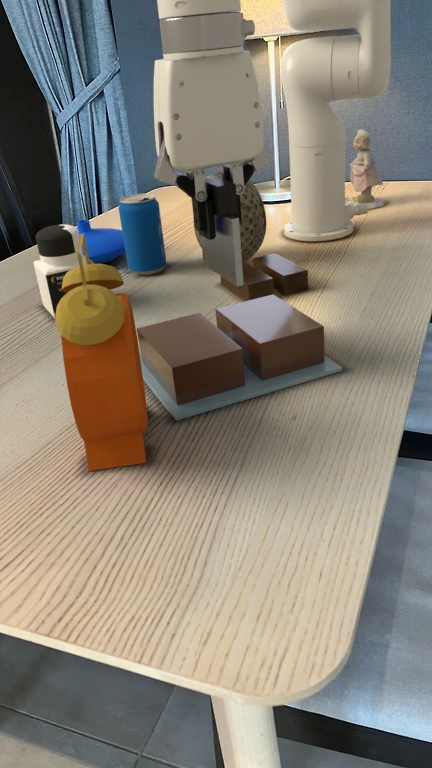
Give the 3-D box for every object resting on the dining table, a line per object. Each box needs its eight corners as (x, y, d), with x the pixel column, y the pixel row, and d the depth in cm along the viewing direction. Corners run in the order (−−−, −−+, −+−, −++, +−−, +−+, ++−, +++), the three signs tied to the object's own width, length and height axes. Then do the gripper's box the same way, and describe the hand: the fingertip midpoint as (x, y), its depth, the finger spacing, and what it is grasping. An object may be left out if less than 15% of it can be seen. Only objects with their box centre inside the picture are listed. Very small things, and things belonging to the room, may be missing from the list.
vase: (100, 242, 130) (93, 205, 126) (151, 255, 119) (146, 215, 116) (28, 265, 120) (19, 227, 117) (78, 281, 110) (69, 239, 107)
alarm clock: (153, 471, 61) (118, 261, 52) (85, 481, 61) (38, 271, 51) (147, 401, 73) (118, 218, 63) (90, 409, 72) (53, 226, 63)
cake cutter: (214, 262, 77) (206, 172, 72) (249, 284, 69) (242, 185, 65) (198, 265, 76) (189, 175, 71) (231, 288, 69) (223, 189, 64)
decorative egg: (274, 251, 115) (269, 161, 107) (260, 275, 105) (254, 177, 98) (209, 252, 118) (200, 164, 111) (189, 275, 108) (178, 180, 101)
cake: (274, 323, 88) (273, 287, 86) (342, 371, 75) (342, 330, 72) (129, 362, 82) (123, 324, 79) (175, 421, 69) (169, 378, 66)
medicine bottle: (55, 320, 96) (37, 238, 90) (42, 305, 102) (25, 228, 96) (102, 308, 99) (87, 227, 93) (87, 294, 104) (72, 218, 99)
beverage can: (161, 276, 109) (151, 202, 103) (123, 277, 110) (111, 203, 104) (171, 263, 114) (162, 192, 108) (135, 264, 116) (124, 193, 110)
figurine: (319, 203, 138) (334, 126, 134) (349, 208, 144) (365, 135, 140) (360, 210, 130) (378, 129, 126) (390, 215, 137) (408, 138, 133)
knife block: (276, 271, 106) (275, 252, 104) (308, 289, 98) (308, 269, 96) (221, 284, 103) (219, 265, 101) (249, 304, 95) (248, 284, 93)
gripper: (260, 32, 68) (269, 214, 76) (108, 48, 63) (136, 240, 71) (297, 29, 61) (302, 227, 70) (132, 46, 56) (159, 258, 65)
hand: (218, 232), depth 71 cm, fingers closed on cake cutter, 2 cm apart
